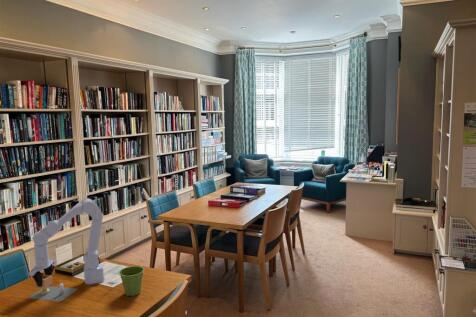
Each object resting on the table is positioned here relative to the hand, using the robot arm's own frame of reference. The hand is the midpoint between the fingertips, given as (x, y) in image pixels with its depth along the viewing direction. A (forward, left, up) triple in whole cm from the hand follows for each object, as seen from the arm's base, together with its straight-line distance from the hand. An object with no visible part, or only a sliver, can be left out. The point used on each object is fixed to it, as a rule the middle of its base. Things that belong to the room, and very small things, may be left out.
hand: (44, 283), depth 167 cm
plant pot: (-40, +13, -6) cm, 43 cm away
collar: (0, 0, -1) cm, 1 cm away
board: (-4, +2, -6) cm, 8 cm away
